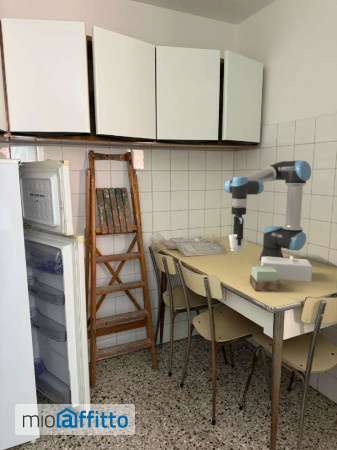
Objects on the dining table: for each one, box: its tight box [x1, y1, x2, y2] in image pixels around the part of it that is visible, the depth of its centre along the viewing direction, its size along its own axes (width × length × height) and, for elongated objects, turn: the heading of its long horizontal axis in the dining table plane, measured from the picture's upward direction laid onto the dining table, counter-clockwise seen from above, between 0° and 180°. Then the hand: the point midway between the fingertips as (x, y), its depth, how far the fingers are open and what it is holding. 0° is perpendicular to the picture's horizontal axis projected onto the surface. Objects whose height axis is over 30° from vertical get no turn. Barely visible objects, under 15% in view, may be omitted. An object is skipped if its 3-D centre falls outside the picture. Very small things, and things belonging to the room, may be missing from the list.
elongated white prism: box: [260, 255, 313, 282], centre depth 173 cm, size 14×25×11 cm, turn 76°
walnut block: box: [249, 274, 281, 292], centre depth 156 cm, size 12×12×5 cm
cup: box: [228, 233, 247, 252], centre depth 164 cm, size 7×10×8 cm
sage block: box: [251, 265, 278, 282], centre depth 155 cm, size 10×10×5 cm
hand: (237, 249), depth 164 cm, fingers closed on cup, 6 cm apart
